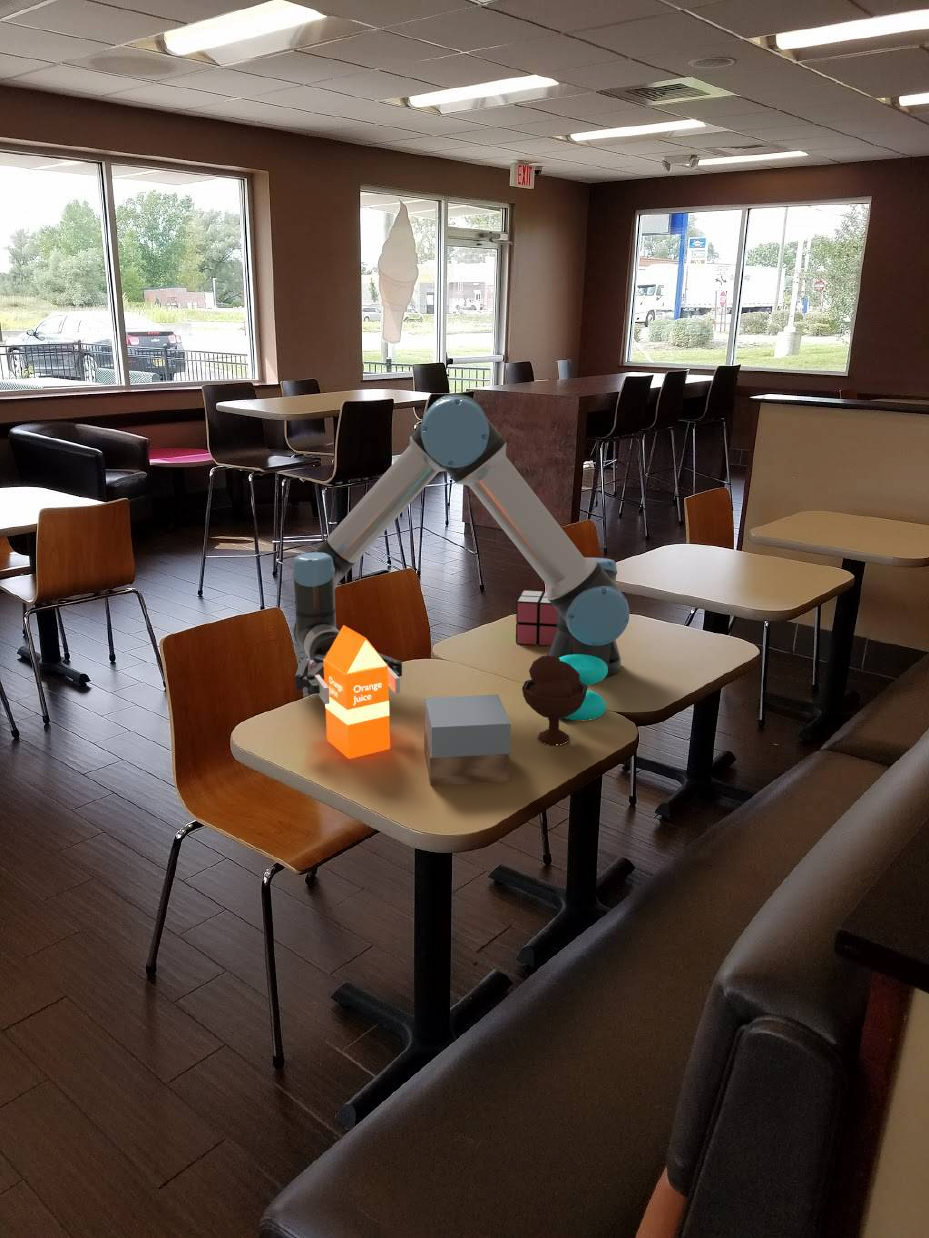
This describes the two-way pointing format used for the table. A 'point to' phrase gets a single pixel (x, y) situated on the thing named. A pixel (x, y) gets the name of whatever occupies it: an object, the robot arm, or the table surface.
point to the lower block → (465, 768)
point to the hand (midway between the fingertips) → (362, 690)
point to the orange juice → (356, 696)
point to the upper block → (467, 726)
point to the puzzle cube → (535, 619)
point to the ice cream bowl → (553, 694)
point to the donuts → (590, 674)
